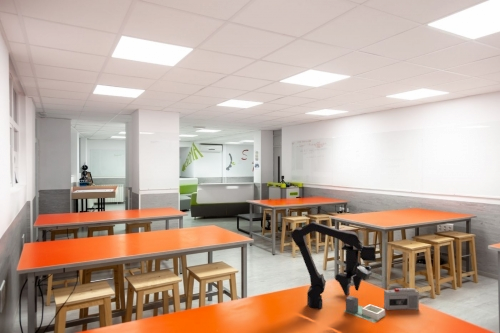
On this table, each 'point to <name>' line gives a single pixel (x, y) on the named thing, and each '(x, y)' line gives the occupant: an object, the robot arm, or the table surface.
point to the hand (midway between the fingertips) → (351, 292)
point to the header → (373, 311)
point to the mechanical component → (351, 284)
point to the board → (364, 315)
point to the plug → (352, 304)
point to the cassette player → (401, 299)
